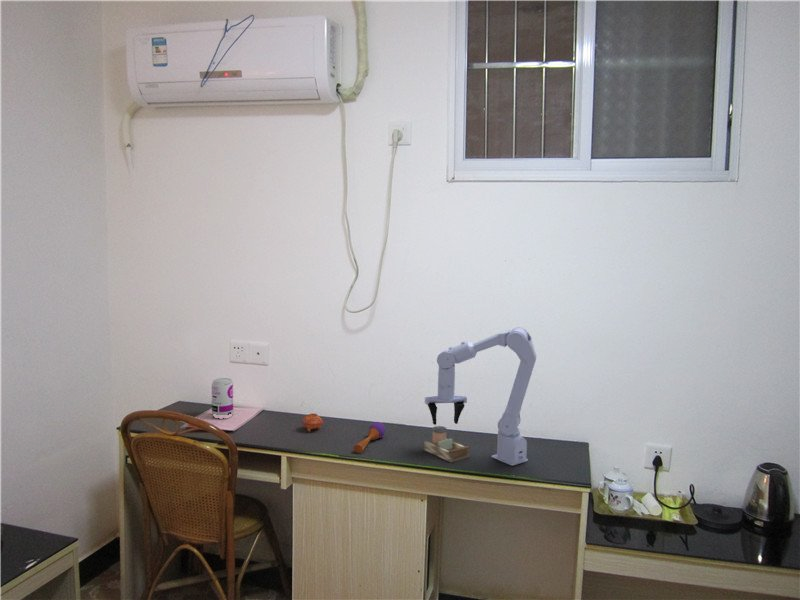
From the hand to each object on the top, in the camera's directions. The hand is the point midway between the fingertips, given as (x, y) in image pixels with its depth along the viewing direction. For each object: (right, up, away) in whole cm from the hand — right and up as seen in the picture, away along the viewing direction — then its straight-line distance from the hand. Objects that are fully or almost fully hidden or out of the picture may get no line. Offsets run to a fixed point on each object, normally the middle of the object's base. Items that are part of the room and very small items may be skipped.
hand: (445, 423), depth 202 cm
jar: (-2, -9, 0) cm, 9 cm away
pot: (-49, -7, +19) cm, 53 cm away
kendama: (-26, -9, +5) cm, 28 cm away
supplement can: (-87, -4, +32) cm, 93 cm away
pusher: (0, -9, -2) cm, 9 cm away
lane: (0, -10, -3) cm, 10 cm away
